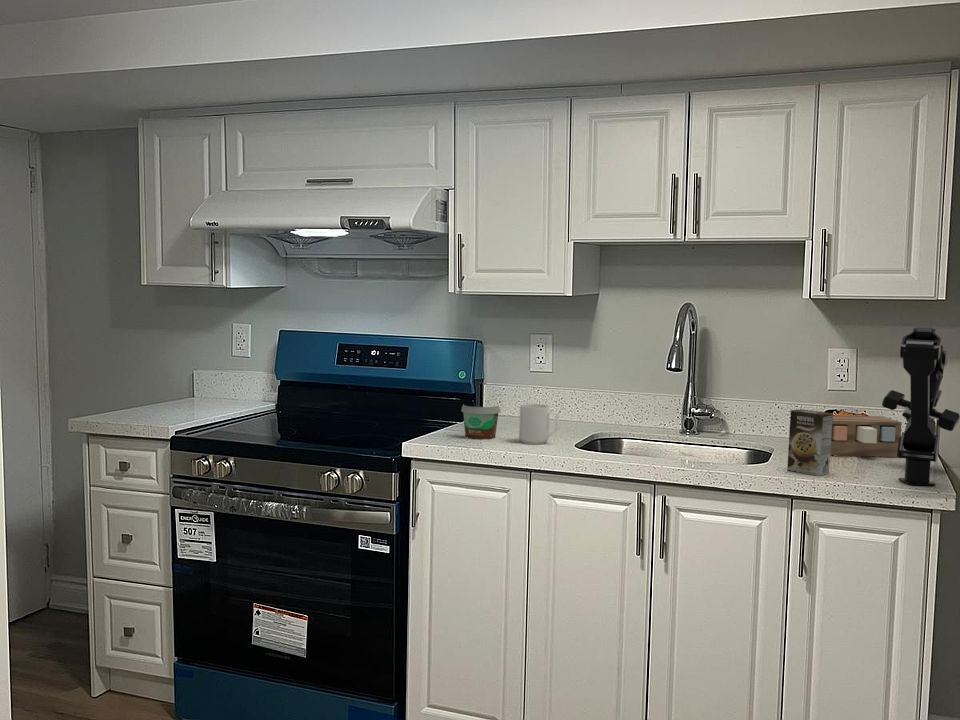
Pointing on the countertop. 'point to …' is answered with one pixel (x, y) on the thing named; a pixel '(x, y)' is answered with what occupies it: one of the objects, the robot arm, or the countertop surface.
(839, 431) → the key terracotta
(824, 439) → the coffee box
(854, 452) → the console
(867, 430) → the key ivory
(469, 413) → the food container
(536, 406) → the mug
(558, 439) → the countertop surface
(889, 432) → the key slate
